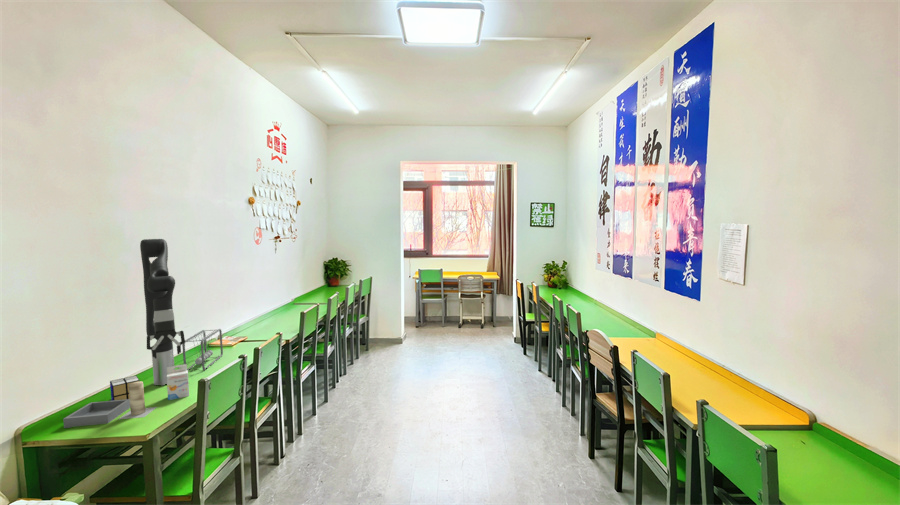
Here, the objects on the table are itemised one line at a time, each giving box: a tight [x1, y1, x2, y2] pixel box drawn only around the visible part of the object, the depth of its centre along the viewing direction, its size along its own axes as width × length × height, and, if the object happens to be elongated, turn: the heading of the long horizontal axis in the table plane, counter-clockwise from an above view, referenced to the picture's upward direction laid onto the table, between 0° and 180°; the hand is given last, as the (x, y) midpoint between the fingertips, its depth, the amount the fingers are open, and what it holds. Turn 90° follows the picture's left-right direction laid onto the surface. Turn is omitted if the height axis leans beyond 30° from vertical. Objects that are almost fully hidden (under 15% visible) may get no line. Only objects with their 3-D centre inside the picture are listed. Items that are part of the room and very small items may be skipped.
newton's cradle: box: [181, 328, 224, 371], centre depth 246 cm, size 30×10×18 cm, turn 11°
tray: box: [62, 399, 130, 429], centre depth 177 cm, size 16×16×4 cm
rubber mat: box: [117, 406, 158, 420], centre depth 179 cm, size 10×10×1 cm
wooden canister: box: [129, 380, 146, 416], centre depth 179 cm, size 5×5×13 cm
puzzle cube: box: [109, 375, 140, 401], centre depth 194 cm, size 10×10×10 cm
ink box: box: [166, 363, 190, 401], centre depth 196 cm, size 8×5×15 cm, turn 123°
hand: (167, 356), depth 187 cm, fingers open, 8 cm apart
